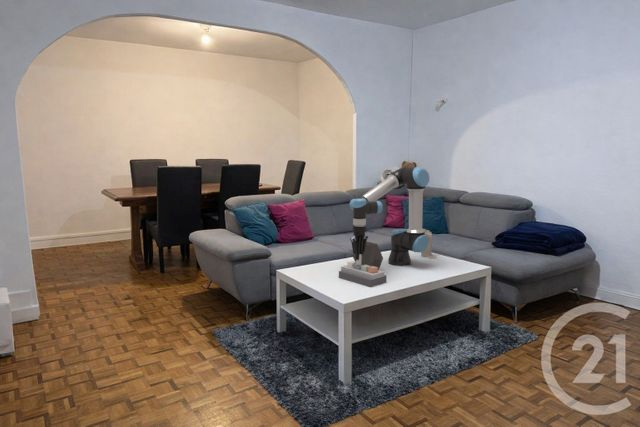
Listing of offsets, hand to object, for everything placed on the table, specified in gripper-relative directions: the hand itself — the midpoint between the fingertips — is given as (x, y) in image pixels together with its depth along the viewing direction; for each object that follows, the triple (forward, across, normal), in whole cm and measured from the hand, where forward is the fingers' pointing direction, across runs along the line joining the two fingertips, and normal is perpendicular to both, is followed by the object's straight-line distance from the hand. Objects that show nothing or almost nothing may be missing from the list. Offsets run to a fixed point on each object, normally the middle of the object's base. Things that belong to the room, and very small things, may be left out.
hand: (358, 264), depth 266 cm
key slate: (+3, 0, 0) cm, 3 cm away
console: (+9, 0, +3) cm, 9 cm away
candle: (+8, -78, -3) cm, 79 cm away
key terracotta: (+2, 0, +11) cm, 11 cm away
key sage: (+3, 0, +5) cm, 6 cm away
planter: (+9, -18, -9) cm, 22 cm away
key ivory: (+2, 0, -6) cm, 6 cm away
